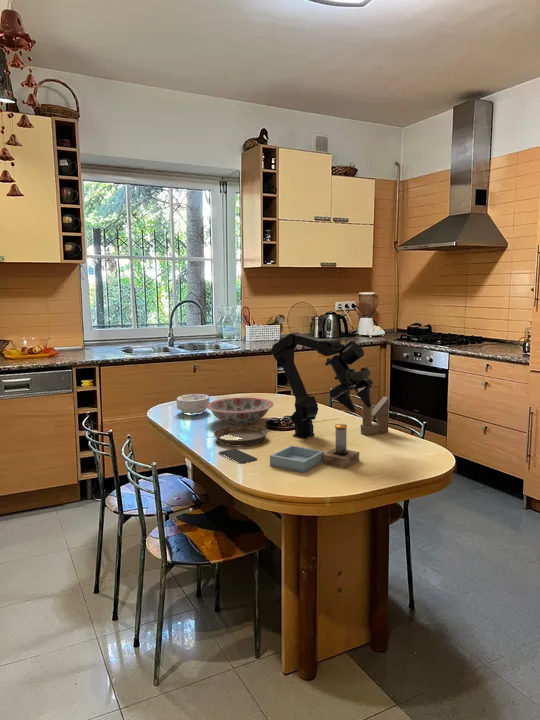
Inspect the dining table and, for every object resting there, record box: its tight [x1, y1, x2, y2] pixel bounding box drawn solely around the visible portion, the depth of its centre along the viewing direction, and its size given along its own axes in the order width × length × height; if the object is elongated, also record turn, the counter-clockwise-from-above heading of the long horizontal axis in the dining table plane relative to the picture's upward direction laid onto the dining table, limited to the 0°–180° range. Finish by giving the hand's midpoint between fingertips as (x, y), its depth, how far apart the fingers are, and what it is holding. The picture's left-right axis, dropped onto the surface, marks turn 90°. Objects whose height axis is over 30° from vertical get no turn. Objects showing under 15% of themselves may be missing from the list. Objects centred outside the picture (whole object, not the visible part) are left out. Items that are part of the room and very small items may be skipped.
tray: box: [269, 445, 325, 474], centre depth 176 cm, size 13×13×4 cm
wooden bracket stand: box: [360, 388, 390, 436], centre depth 210 cm, size 4×11×18 cm, turn 111°
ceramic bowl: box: [206, 396, 274, 425], centre depth 232 cm, size 29×29×8 cm
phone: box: [218, 448, 258, 464], centre depth 185 cm, size 7×1×15 cm
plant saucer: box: [213, 424, 268, 446], centre depth 205 cm, size 21×21×3 cm
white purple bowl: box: [176, 393, 210, 414], centre depth 249 cm, size 15×15×8 cm
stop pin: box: [334, 423, 348, 456], centre depth 176 cm, size 4×4×12 cm
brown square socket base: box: [322, 447, 360, 469], centre depth 177 cm, size 9×9×3 cm
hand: (362, 409), depth 187 cm, fingers open, 9 cm apart
